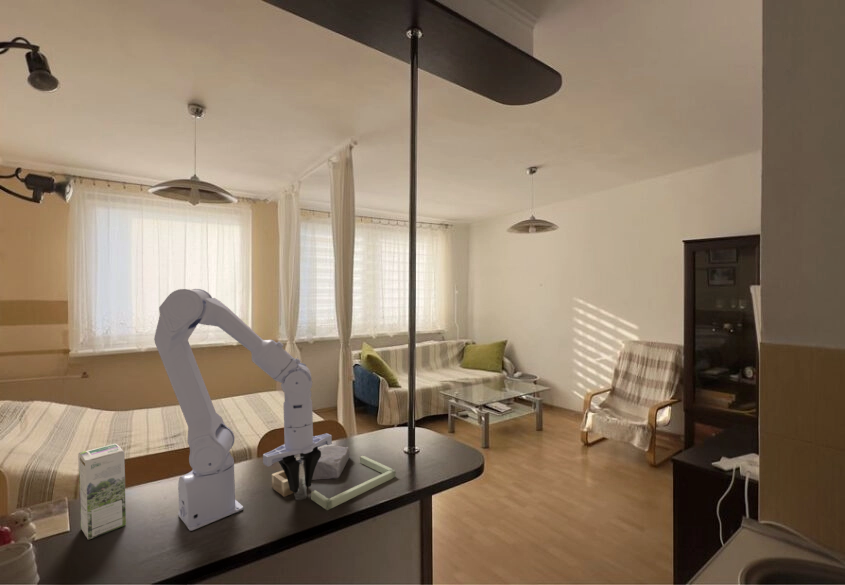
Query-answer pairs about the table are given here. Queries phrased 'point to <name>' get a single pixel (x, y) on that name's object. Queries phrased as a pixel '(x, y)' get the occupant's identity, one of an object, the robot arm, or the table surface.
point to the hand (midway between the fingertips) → (300, 487)
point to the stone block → (331, 462)
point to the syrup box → (102, 490)
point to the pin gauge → (301, 479)
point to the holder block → (281, 483)
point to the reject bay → (359, 489)
